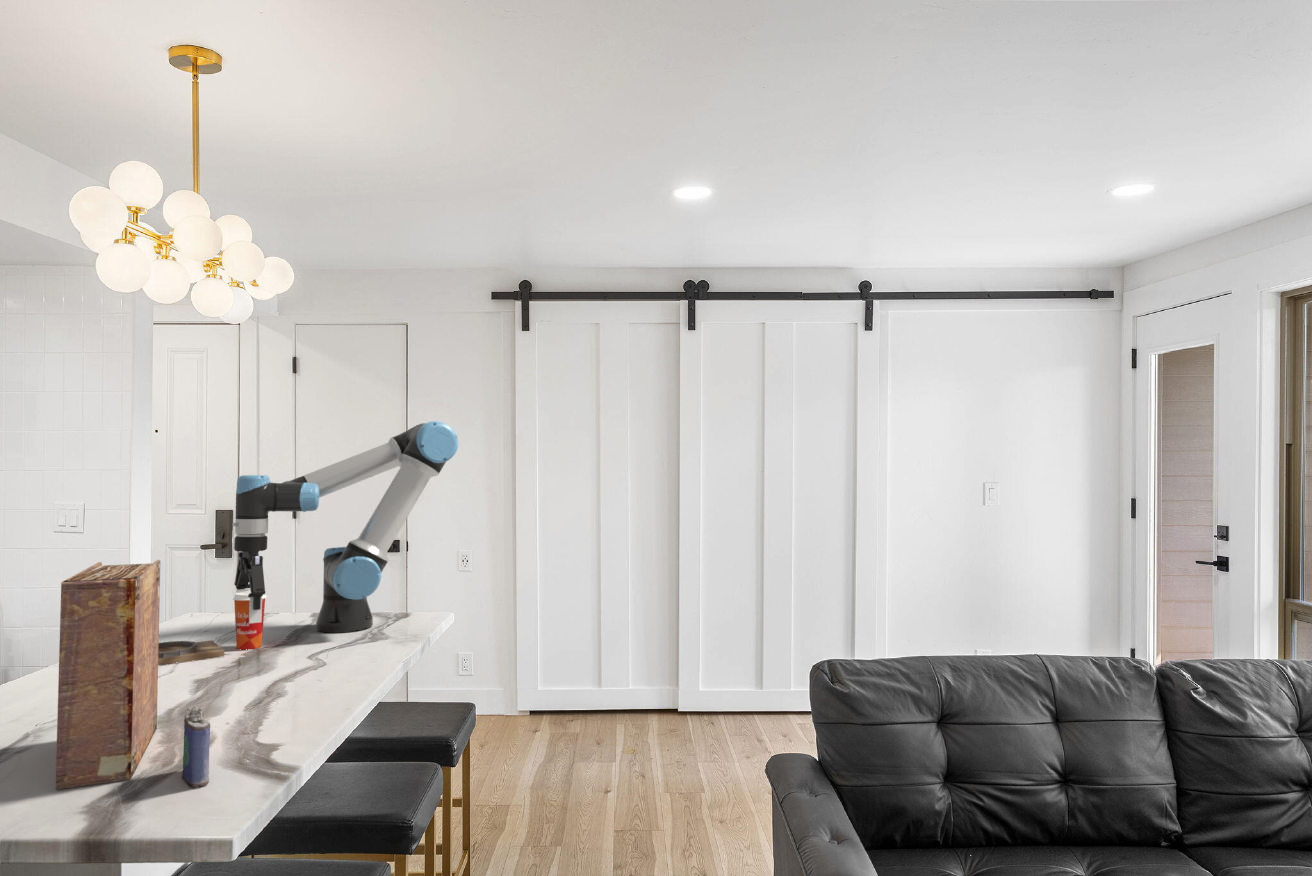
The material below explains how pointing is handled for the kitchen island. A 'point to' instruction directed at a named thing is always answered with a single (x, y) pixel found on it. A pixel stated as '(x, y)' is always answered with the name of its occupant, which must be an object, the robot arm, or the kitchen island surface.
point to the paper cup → (247, 623)
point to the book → (107, 672)
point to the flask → (196, 748)
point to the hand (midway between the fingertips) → (248, 618)
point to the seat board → (187, 651)
